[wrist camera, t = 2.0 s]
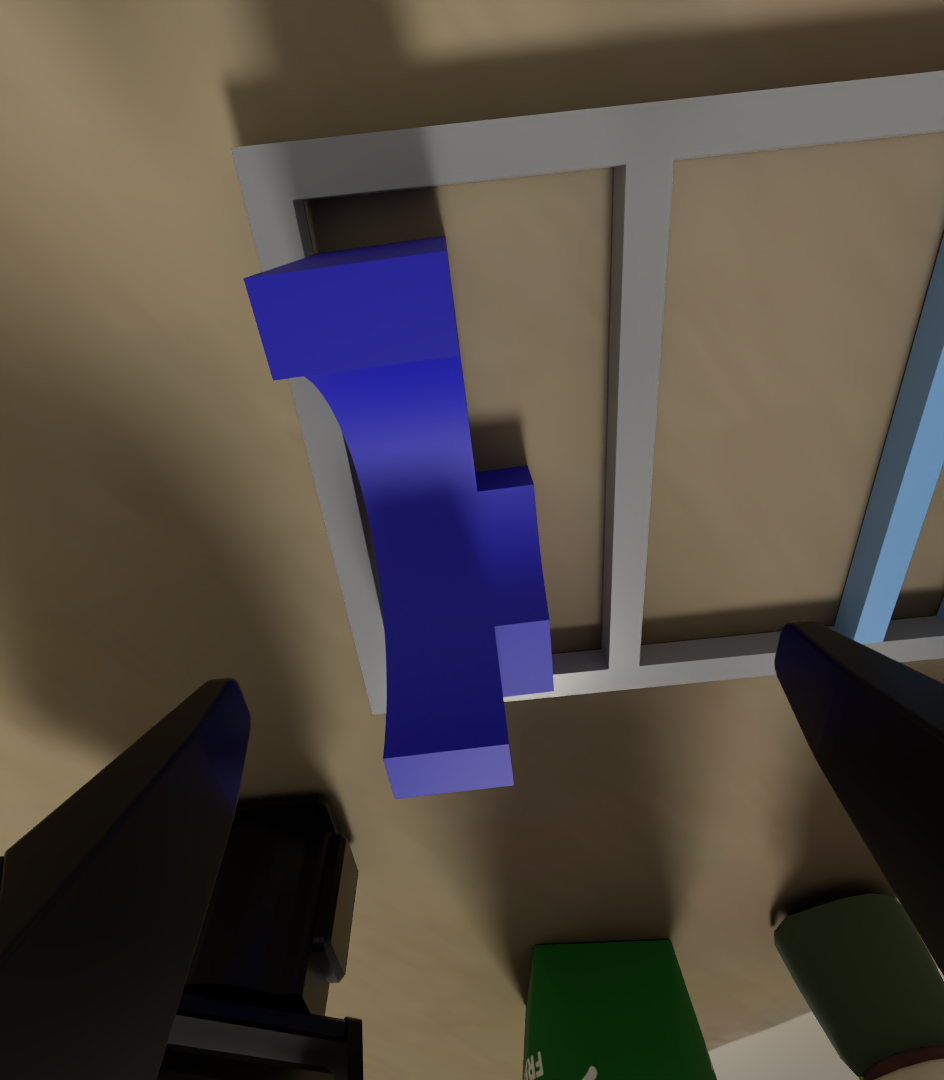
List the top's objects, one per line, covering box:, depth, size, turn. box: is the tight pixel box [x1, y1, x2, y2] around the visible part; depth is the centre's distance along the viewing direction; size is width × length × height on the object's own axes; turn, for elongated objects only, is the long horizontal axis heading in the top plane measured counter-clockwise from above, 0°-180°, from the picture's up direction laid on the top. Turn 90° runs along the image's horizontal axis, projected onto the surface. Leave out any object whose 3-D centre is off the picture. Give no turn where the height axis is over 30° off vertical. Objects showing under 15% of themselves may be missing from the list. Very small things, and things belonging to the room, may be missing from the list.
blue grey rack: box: [231, 70, 944, 715], centre depth 14 cm, size 20×16×6 cm
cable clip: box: [244, 236, 554, 799], centre depth 14 cm, size 12×4×6 cm, turn 7°
